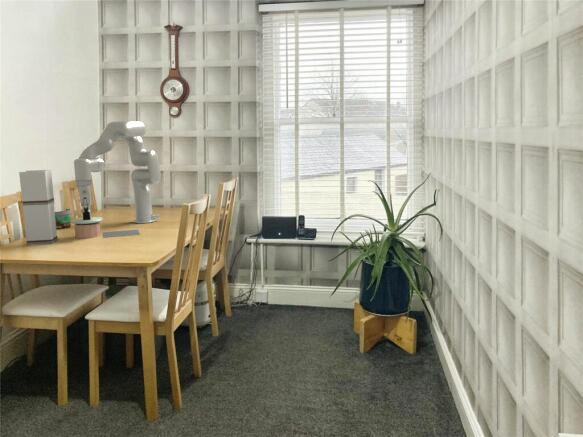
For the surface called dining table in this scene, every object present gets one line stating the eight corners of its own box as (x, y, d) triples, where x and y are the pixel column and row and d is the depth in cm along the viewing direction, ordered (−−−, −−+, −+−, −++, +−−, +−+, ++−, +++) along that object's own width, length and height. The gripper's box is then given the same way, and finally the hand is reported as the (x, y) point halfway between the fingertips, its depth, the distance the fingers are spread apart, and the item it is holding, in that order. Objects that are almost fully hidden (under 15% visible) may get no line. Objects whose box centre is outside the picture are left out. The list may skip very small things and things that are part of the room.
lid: (102, 218, 279) (101, 206, 278) (103, 222, 265) (102, 210, 264) (71, 220, 273) (70, 208, 272) (70, 224, 260) (69, 212, 259)
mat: (137, 230, 285) (137, 229, 285) (140, 235, 270) (140, 234, 270) (102, 233, 279) (102, 232, 279) (103, 238, 264) (103, 237, 264)
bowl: (100, 233, 278) (99, 220, 277) (101, 237, 267) (99, 224, 266) (76, 235, 274) (74, 222, 273) (75, 240, 263) (74, 226, 262)
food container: (64, 229, 293) (62, 212, 291) (54, 229, 294) (52, 211, 293) (77, 225, 305) (76, 208, 303) (68, 225, 306) (66, 208, 305)
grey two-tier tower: (57, 239, 266) (51, 169, 260) (52, 243, 255) (44, 171, 250) (33, 240, 264) (26, 170, 258) (26, 245, 253) (19, 172, 248)
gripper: (91, 184, 259) (94, 221, 262) (91, 181, 275) (94, 216, 278) (75, 185, 257) (78, 222, 260) (76, 182, 272) (79, 217, 275)
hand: (86, 218), depth 269 cm, fingers closed on lid, 4 cm apart
